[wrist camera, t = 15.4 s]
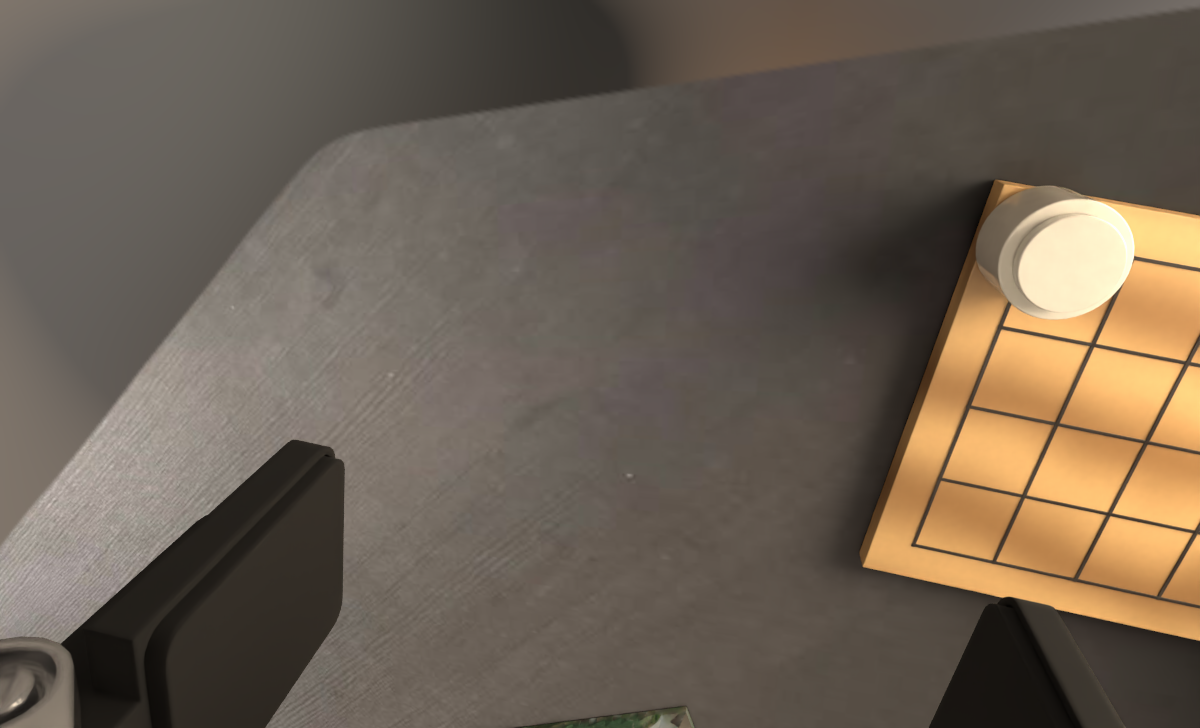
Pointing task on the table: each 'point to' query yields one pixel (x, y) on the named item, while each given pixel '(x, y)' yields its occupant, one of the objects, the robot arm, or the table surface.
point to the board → (1060, 444)
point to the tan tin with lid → (1054, 252)
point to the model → (632, 720)
